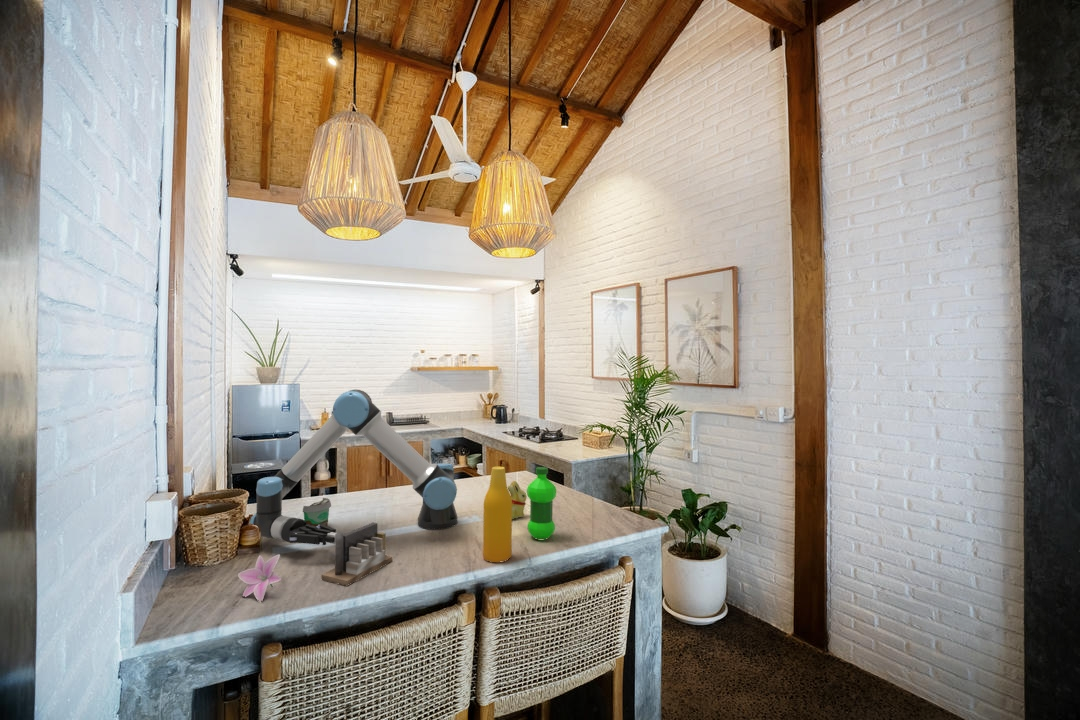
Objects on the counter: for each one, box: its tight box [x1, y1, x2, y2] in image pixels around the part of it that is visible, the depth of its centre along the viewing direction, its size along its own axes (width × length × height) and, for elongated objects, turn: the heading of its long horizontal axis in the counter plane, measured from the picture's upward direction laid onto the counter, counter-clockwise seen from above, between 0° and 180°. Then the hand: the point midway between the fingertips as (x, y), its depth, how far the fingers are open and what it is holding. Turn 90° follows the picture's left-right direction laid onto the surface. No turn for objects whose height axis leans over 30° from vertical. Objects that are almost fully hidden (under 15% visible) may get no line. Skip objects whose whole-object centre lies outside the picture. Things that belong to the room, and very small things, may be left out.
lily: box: [237, 554, 282, 602], centre depth 136 cm, size 12×12×10 cm
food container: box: [302, 497, 332, 527], centre depth 187 cm, size 12×6×10 cm, turn 168°
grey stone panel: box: [342, 522, 378, 571], centre depth 153 cm, size 13×2×10 cm, turn 155°
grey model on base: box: [321, 532, 393, 586], centre depth 151 cm, size 19×10×13 cm, turn 157°
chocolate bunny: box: [507, 480, 528, 520], centre depth 203 cm, size 7×11×15 cm, turn 125°
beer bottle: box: [482, 466, 513, 563], centre depth 162 cm, size 9×9×29 cm
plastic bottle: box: [526, 466, 557, 539], centre depth 181 cm, size 10×10×25 cm
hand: (345, 540), depth 156 cm, fingers closed
